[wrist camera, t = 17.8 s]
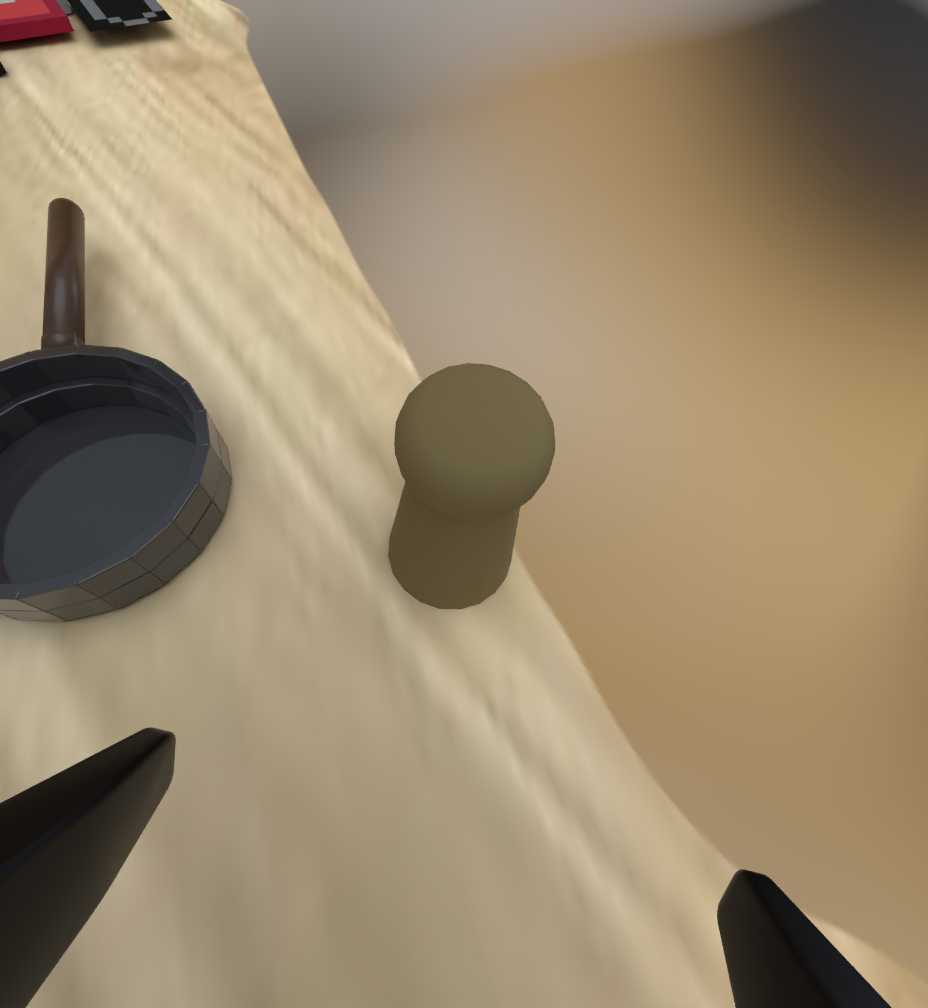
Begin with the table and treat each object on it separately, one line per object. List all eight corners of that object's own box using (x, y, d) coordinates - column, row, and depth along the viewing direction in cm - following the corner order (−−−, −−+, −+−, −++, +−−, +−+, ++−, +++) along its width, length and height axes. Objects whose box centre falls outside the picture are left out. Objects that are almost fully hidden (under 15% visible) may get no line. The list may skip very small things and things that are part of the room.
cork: (383, 499, 25) (370, 336, 16) (498, 489, 26) (554, 330, 17) (394, 617, 23) (388, 509, 13) (522, 600, 24) (606, 488, 14)
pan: (248, 579, 23) (223, 550, 20) (-73, 659, 20) (-161, 641, 17) (218, 376, 28) (195, 327, 25) (-42, 417, 25) (-105, 368, 22)
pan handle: (91, 368, 25) (72, 344, 23) (54, 373, 24) (33, 349, 23) (90, 217, 29) (74, 190, 28) (59, 220, 29) (41, 192, 28)
